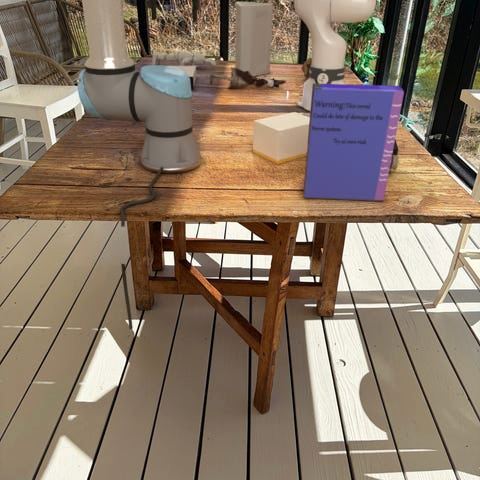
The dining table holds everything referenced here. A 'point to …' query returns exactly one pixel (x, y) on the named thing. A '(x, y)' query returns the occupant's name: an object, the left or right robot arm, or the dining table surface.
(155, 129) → the left robot arm
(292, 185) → the dining table surface
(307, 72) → the anatomical model
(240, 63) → the white block
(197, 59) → the toy
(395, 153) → the figurine character
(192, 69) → the disc drive
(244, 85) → the figurine
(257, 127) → the cabinet
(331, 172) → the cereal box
